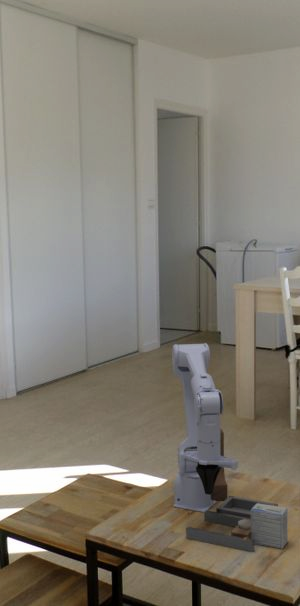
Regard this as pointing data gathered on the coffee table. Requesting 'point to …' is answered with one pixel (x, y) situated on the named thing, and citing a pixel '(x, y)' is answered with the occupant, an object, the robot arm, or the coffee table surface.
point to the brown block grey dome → (243, 529)
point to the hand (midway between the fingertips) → (209, 493)
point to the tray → (239, 506)
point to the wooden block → (220, 477)
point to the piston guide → (220, 537)
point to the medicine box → (269, 525)
